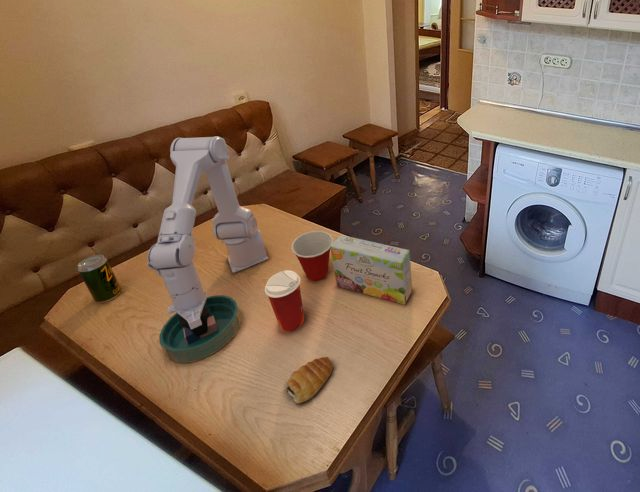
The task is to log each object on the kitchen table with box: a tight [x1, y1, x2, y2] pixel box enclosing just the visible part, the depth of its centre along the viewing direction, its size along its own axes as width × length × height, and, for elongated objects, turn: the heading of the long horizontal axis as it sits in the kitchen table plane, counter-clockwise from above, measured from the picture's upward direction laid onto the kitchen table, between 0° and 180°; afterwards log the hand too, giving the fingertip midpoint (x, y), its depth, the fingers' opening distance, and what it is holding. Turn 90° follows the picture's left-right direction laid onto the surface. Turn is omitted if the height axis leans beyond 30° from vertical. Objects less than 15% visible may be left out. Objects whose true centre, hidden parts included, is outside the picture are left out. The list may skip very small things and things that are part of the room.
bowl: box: [158, 294, 242, 364], centre depth 85 cm, size 15×15×4 cm
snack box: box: [330, 234, 413, 305], centre depth 97 cm, size 21×6×15 cm, turn 74°
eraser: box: [183, 316, 218, 345], centre depth 85 cm, size 6×3×3 cm, turn 131°
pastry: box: [284, 356, 334, 404], centre depth 76 cm, size 9×7×4 cm
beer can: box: [77, 254, 122, 304], centre depth 94 cm, size 5×5×12 cm
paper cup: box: [264, 269, 305, 333], centre depth 87 cm, size 8×8×14 cm
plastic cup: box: [290, 230, 334, 283], centre depth 102 cm, size 11×11×12 cm
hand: (201, 328), depth 85 cm, fingers closed on eraser, 3 cm apart
